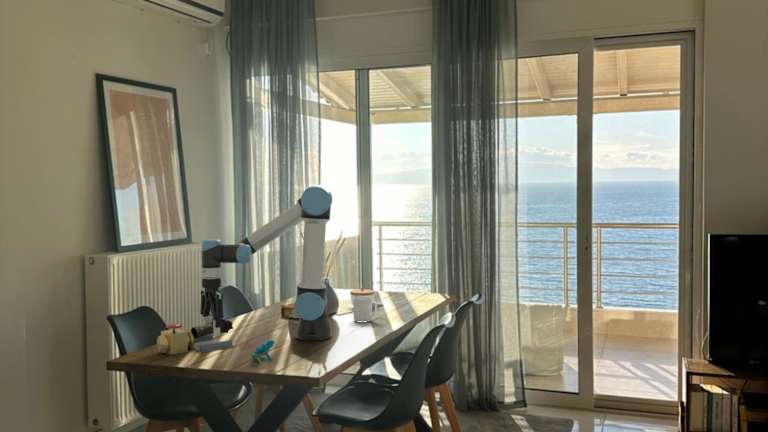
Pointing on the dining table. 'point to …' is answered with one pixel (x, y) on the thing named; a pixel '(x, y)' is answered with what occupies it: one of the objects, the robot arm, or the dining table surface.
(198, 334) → the dark brown elongated piece
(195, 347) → the blue-grey u-shaped block
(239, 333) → the dining table surface
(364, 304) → the mug
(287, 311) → the diary
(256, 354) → the blue green toy
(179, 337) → the brass valve
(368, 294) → the lidded bowl
